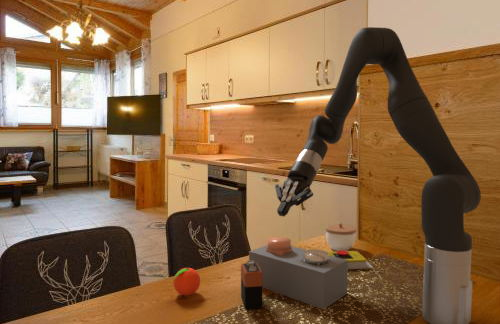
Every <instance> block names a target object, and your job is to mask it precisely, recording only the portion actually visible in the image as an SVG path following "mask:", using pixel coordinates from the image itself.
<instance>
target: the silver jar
mask: <svg viewBox="0 0 500 324" xmlns="http://www.w3.org/2000/svg"><path fill="white" fill-rule="evenodd" d="M305 250H306V251H304V253H303V261H302V262H305V263H307V264H311V265H317V266H321V265H324V264H327V263H328V262H329V260H328V253H327V252H328V251H325V250H322V249H316V248H315V249H314V248H313V249H305Z"/></svg>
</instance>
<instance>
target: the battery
mask: <svg viewBox="0 0 500 324" xmlns="http://www.w3.org/2000/svg"><path fill="white" fill-rule="evenodd" d="M262 278H263V274H262V271H261V269H260V267H259V265H258V264H257V263H254V261H252V260H250V261H249V260H246V261H245V263H241V265H240V282H241V283H240V297H241V301H242V304H243V307H244V308H245V310H253V309H255V310H257V309H262V308H263V287H262Z"/></svg>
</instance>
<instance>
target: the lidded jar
mask: <svg viewBox="0 0 500 324" xmlns="http://www.w3.org/2000/svg"><path fill="white" fill-rule="evenodd" d="M356 233H357V228H356V227H354V226H351V225H348V224H343V223H342V222H339V223H338V224H337V223H336V224H335V223H334V224H329V225H326V226H325V237H326V238H325V239H326V242H327V244H328V245H329V247H331V249H332V251H335V252H336V251H340V250H343V251H350V250H349V249H351V248H352V247H353V246H354V244H355V240H356Z"/></svg>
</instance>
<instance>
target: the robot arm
mask: <svg viewBox="0 0 500 324" xmlns="http://www.w3.org/2000/svg"><path fill="white" fill-rule="evenodd" d="M366 65H379V66H380V68H381V69H382V70H383V72H384V74H385V76H386V78H387V81H388V86H389V87H388V94H387V111H388V114H389V117H390V119H391V121H392V123H393V125H394V127H395V129H396V131H397V132H398V134H399V135H400V137H401V138H402V139H403V140H404V141H405V142H406V143H407V145H408V146H410V147H411V148H412V149H413V150H414V151H415V152H416V153H417V154H418V155H419V156H420V157H421V158H422V159H423V160H424V162H425V163H426V165H427V166H428V169H429V170H430V172H431V174H432V176H431V177H430V178H429V179H427V180H426V182H425V183H424V185H423V188H422V191H421V201H420V202H421V204H420V206H421V208H420V209H421V210H420V212H421V230H422V233H423V235H424V256H423V259H424V261H423V282H422V284H423V285H422V286H423V287H422V307H421V309H422V310H421V313H422V314H421V315H422V316H421V317H422V318H423V319H424V321H426V322H427V323H428V324H470V323H471V320H472V319H471V318H472V315H471V314H472V299H473V280H472V279H471V267H472V266H471V265H472V248H473V238H472V235H471V234H470V233H469V232H466V231H465V228H464V226H465V225H464V219H465V218H464V214H467V213H471V212H473V211H475V210H476V209H477V208H478V206H479V205H480V202H481V198H482V193H481V189H480V186H479V184H478V182H477V181H476V179H475V177H474V176H473V174H472V173H471V171H470V170H469V168H468V167H467V166H466V164H465V163H464V162H463V160H462V159H461V157H460V155H459V154H458V152H457V151H456V149H455V148H454V146H453V145H452V144H453V143H452V142H451V140H450V138H449V136H448V134H447V132H446V130H445V129H444V127H443V125H442V124H441V122H440V120H439V118H438V116H437V113H436V111H435V110H434V108H433V106H432V104H431V102H430V101H429V99H428V97H427V96H426V93H425V91H424V90H423V88H422V87H421V85H420V83H419V81H418V79H417V76H416V74H415V73H414V71H413V69H412V67H411V64H410V62H409V60H408V57H407V54H406V52H405V49H404V47H403V43H402V42H401V40H400V38H399V35H398V34H397V33H396V32H395V31H394V30H393V29H391V28H389V27H388V28H387V27H372V26H371V27H363V28H360V29H358V30H357V32H356V33H355V34H354V36H353V38H352V40H351V42H350V45H349V47H348V51H347V55H346V57H345V59H344V63H343V65H342V68H341V73H340V76H339V79H338V82H337V84H336V87H335V88H334V90H333V92H332V94H331V96H330V98H329V100H328V102H327V104H326V106H325V109H324V114H325V116H324V115H323V114H320V115H316V116H314V117H313V118H312V120H311V122H310V126H309V130H308V137H307V140H306V142H305V144H304V146H303V148H301V149H302V150H301V151H300V153H299V154H298V156H297V157H296V159H295V160H294V163H293V164H292V166H291V167H290V169H289V171H288V175H287V178H286V179H285V180H284V182H283V183H282V184H280V185H279V184H275V185H274V188H275V193H276V199H278V202H280V204H279V205H278V207H277V209H276V212H277V214H278V216H280V217H285V216H287V215H288V213H289V212H290V210H291V207H294V206H296V207H298V206H300V205H301V204H303V203H305V202H306V201H307V200H309V199H310V198H312V197H313V196H314V192H313V191H312V189H311V185H312V184H313V182H314V180H315V178H316V176H317V174H318V172H319V170H320V169H321V166H322V164H323V163H322V162H323V160H324V158H325V157H326V154H327V153H328V151H329V148H328V145H327V144H330V145H334V144H336V143H338V142H339V141H340V139H341V138H342V135H343V131H344V126H345V122H346V119H347V117H348V115H349V114H350V111H351V110H352V108H353V107H354V105H355V103H356V101H357V99H358V98H357V96H358V79H359V78H358V77H359V76H360V74H361V72H362V71H363V69H364V68H365V67H366Z"/></svg>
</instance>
